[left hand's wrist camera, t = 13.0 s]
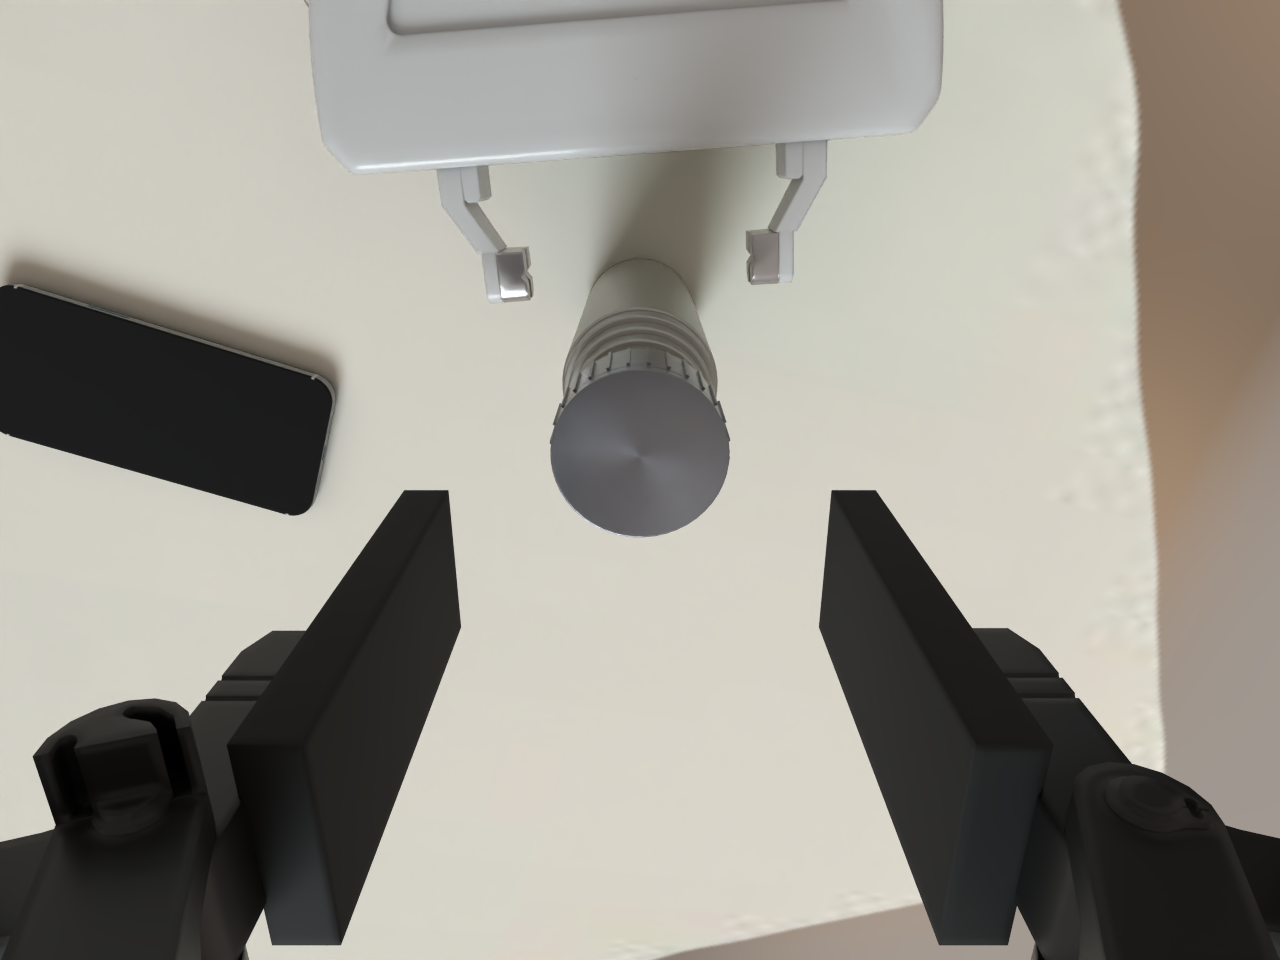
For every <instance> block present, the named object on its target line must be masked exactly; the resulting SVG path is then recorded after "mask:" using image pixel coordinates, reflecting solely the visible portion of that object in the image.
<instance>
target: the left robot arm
mask: <svg viewBox="0 0 1280 960" xmlns="http://www.w3.org/2000/svg"><path fill="white" fill-rule="evenodd" d="M460 629H461V622H460V611H459V600H458V589H457V578H456V568H455V557H454V546H453V535H452V524H451V514H450V503H449V492H448V490H404V492H403V493H402V494H401V496H400V497H399V499H398V500H397V502H396V503H395V504H394V506H393V507H392V509H391V510H390V512H389V513H388V514H387V516H386V517H385V519H384V520H383V522H382V523H381V524H380V526H379V527H378V529H377V530H376V532H375V533H374V534H373V536H372V537H371V539H370V540H369V542H368V543H367V544H366V546H365V547H364V549H363V550H362V552H361V553H360V554H359V556H358V557H357V559H356V560H355V562H354V563H353V564H352V566H351V567H350V569H349V570H348V572H347V573H346V574H345V576H344V577H343V579H342V580H341V582H340V583H339V585H338V586H337V587H336V589H335V590H334V592H333V593H332V595H331V596H330V597H329V599H328V600H327V602H326V603H325V605H324V606H323V607H322V609H321V610H320V612H319V613H318V615H317V616H316V617H315V619H314V620H313V622H312V623H311V625H310V626H309V627H308V629H307V630H306V631H272V632H270V633H269V634H267V635H266V636H264V637H263V638H261V639H260V640H258V641H257V642H255V643H254V644H252V645H250V646H249V647H247V648H246V649H244V650H243V651H241V653H240V654H239V655H238V656H237V658H236V659H235V660H234V661H233V663H232V664H231V665H230V666H229V668H228V669H227V670H226V671H225V673H224V674H223V675H222V680H221V681H217V683H216V684H215V685H214V686H213V688H212V689H211V690H210V691H209V693H208V694H207V695H206V700H205V701H201V703H200V704H199V705H198V706H197V708H196V709H195V710H194V711H193V713H192V714H191V715H190V716H189V712H188V711H187V710H185V709H184V708H183V707H181V706H180V705H179V704H178V703H176V702H171V701H166V700H161V699H142V700H130V701H125V702H121V703H118V704H114V705H110V706H107V707H103V708H99V709H97V710H95V711H93V712H90V713H88V714H86V715H84V716H82V717H80V718H77V719H75V720H73V721H71V722H69V723H68V724H67V725H65V726H64V727H62V728H61V729H60V730H58V731H57V732H55V733H54V734H53V735H51V736H50V737H48V738H47V739H46V740H45V742H44V743H43V744H42V745H41V747H40V748H39V749H38V750H37V752H36V753H35V754H34V755H33V759H34V762H35V765H36V768H37V771H38V774H39V777H40V780H41V783H42V786H43V788H44V791H45V794H46V797H47V800H48V803H49V806H50V809H51V812H52V815H53V818H54V821H55V824H56V826H55V828H54V829H53V830H49V831H46V832H43V833H39V834H34V835H30V836H25V837H21V838H16V839H12V840H7V841H3V842H0V960H249V958H248V953H247V949H246V943H247V941H248V939H249V937H250V935H251V933H252V931H253V929H254V927H255V925H256V923H257V921H258V918H259V916H260V914H261V912H262V910H263V908H264V912H265V916H266V920H267V925H268V929H269V933H270V938H271V942H272V945H341V943H342V941H343V938H344V936H345V933H346V930H347V928H348V925H349V922H350V920H351V917H352V914H353V912H354V909H355V906H356V904H357V901H358V898H359V896H360V893H361V891H362V888H363V885H364V883H365V880H366V877H367V875H368V872H369V869H370V867H371V864H372V861H373V859H374V856H375V853H376V851H377V848H378V846H379V843H380V840H381V838H382V835H383V832H384V830H385V827H386V824H387V822H388V819H389V816H390V814H391V811H392V808H393V806H394V803H395V801H396V798H397V795H398V793H399V790H400V787H401V785H402V782H403V779H404V777H405V774H406V771H407V769H408V766H409V763H410V761H411V758H412V756H413V753H414V750H415V748H416V745H417V742H418V740H419V737H420V734H421V732H422V729H423V726H424V724H425V721H426V718H427V716H428V713H429V711H430V708H431V705H432V703H433V700H434V697H435V695H436V692H437V689H438V687H439V684H440V681H441V679H442V676H443V674H444V671H445V668H446V666H447V663H448V660H449V658H450V655H451V652H452V650H453V647H454V644H455V642H456V639H457V636H458V634H459V631H460ZM819 629H820V631H821V634H822V636H823V639H824V642H825V644H826V647H827V650H828V652H829V655H830V658H831V660H832V663H833V666H834V668H835V671H836V674H837V676H838V679H839V681H840V684H841V687H842V689H843V692H844V695H845V697H846V700H847V703H848V705H849V708H850V711H851V713H852V716H853V718H854V721H855V724H856V726H857V729H858V732H859V734H860V737H861V740H862V742H863V745H864V748H865V750H866V753H867V756H868V758H869V761H870V763H871V766H872V769H873V771H874V774H875V777H876V779H877V782H878V785H879V787H880V790H881V793H882V795H883V798H884V801H885V803H886V806H887V808H888V811H889V814H890V816H891V819H892V822H893V824H894V827H895V830H896V832H897V835H898V838H899V840H900V843H901V846H902V848H903V851H904V853H905V856H906V859H907V861H908V864H909V867H910V869H911V872H912V875H913V877H914V880H915V883H916V885H917V888H918V891H919V893H920V896H921V898H922V901H923V904H924V906H925V909H926V911H927V914H928V917H929V920H930V922H931V925H932V928H933V930H934V933H935V936H936V938H937V941H938V943H939V945H1008V942H1009V938H1010V933H1011V929H1012V925H1013V920H1014V916H1015V912H1016V907H1017V906H1018V908H1019V910H1020V912H1021V914H1022V916H1023V918H1024V920H1025V922H1026V924H1027V926H1028V928H1029V930H1030V932H1031V934H1032V936H1033V938H1034V940H1035V945H1034V949H1033V954H1032V958H1031V960H1280V839H1279V838H1275V837H1270V836H1266V835H1261V834H1257V833H1253V832H1248V831H1243V830H1239V829H1236V828H1232V827H1229V826H1226V825H1225V824H1224V823H1223V821H1222V820H1221V818H1220V817H1219V816H1218V814H1217V813H1216V811H1215V810H1214V808H1213V807H1212V805H1211V804H1209V803H1208V802H1207V801H1206V800H1205V799H1203V798H1202V797H1201V796H1200V795H1198V794H1197V793H1196V792H1195V791H1194V790H1192V789H1191V788H1190V787H1188V786H1186V785H1184V784H1183V783H1181V782H1179V781H1177V780H1175V779H1173V778H1171V777H1169V776H1167V775H1165V774H1163V773H1161V772H1158V771H1154V770H1151V769H1148V768H1145V767H1141V766H1138V765H1135V764H1132V763H1131V762H1130V761H1129V760H1128V758H1127V757H1126V756H1125V755H1124V753H1123V752H1122V751H1121V750H1120V749H1119V747H1118V746H1117V745H1116V744H1115V742H1114V741H1113V740H1112V739H1111V737H1110V736H1109V735H1108V734H1107V732H1106V731H1105V730H1104V729H1103V727H1102V726H1101V725H1100V724H1099V722H1098V721H1097V720H1096V719H1095V717H1094V716H1093V715H1092V714H1091V713H1090V711H1089V710H1088V709H1087V708H1086V706H1085V705H1084V704H1083V703H1082V701H1081V700H1080V699H1079V698H1075V693H1074V691H1073V690H1072V689H1071V688H1070V686H1069V685H1068V684H1067V683H1066V682H1065V680H1064V679H1063V678H1059V673H1058V672H1057V670H1056V669H1055V668H1054V667H1053V665H1052V664H1051V663H1050V662H1049V660H1048V659H1047V658H1046V657H1045V655H1044V654H1043V653H1042V652H1041V650H1040V649H1039V648H1037V647H1036V646H1034V645H1032V644H1031V643H1029V642H1028V641H1026V640H1025V639H1023V638H1022V637H1020V636H1019V635H1017V634H1016V633H1014V632H1013V631H1011V630H1010V629H1008V628H972V627H971V626H970V625H969V623H968V622H967V620H966V619H965V617H964V616H963V615H962V613H961V612H960V610H959V609H958V607H957V606H956V605H955V603H954V602H953V600H952V599H951V597H950V596H949V595H948V593H947V592H946V590H945V589H944V587H943V586H942V585H941V583H940V582H939V580H938V579H937V577H936V576H935V574H934V573H933V572H932V570H931V569H930V567H929V566H928V564H927V563H926V562H925V560H924V559H923V557H922V556H921V554H920V553H919V552H918V550H917V549H916V547H915V546H914V544H913V543H912V542H911V540H910V539H909V537H908V536H907V534H906V533H905V532H904V530H903V529H902V527H901V526H900V524H899V523H898V522H897V520H896V519H895V517H894V516H893V514H892V513H891V512H890V510H889V509H888V507H887V506H886V504H885V503H884V502H883V500H882V499H881V497H880V496H879V494H878V493H877V492H876V490H832V492H831V503H830V514H829V524H828V535H827V546H826V557H825V568H824V578H823V589H822V600H821V611H820V622H819Z"/></svg>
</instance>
